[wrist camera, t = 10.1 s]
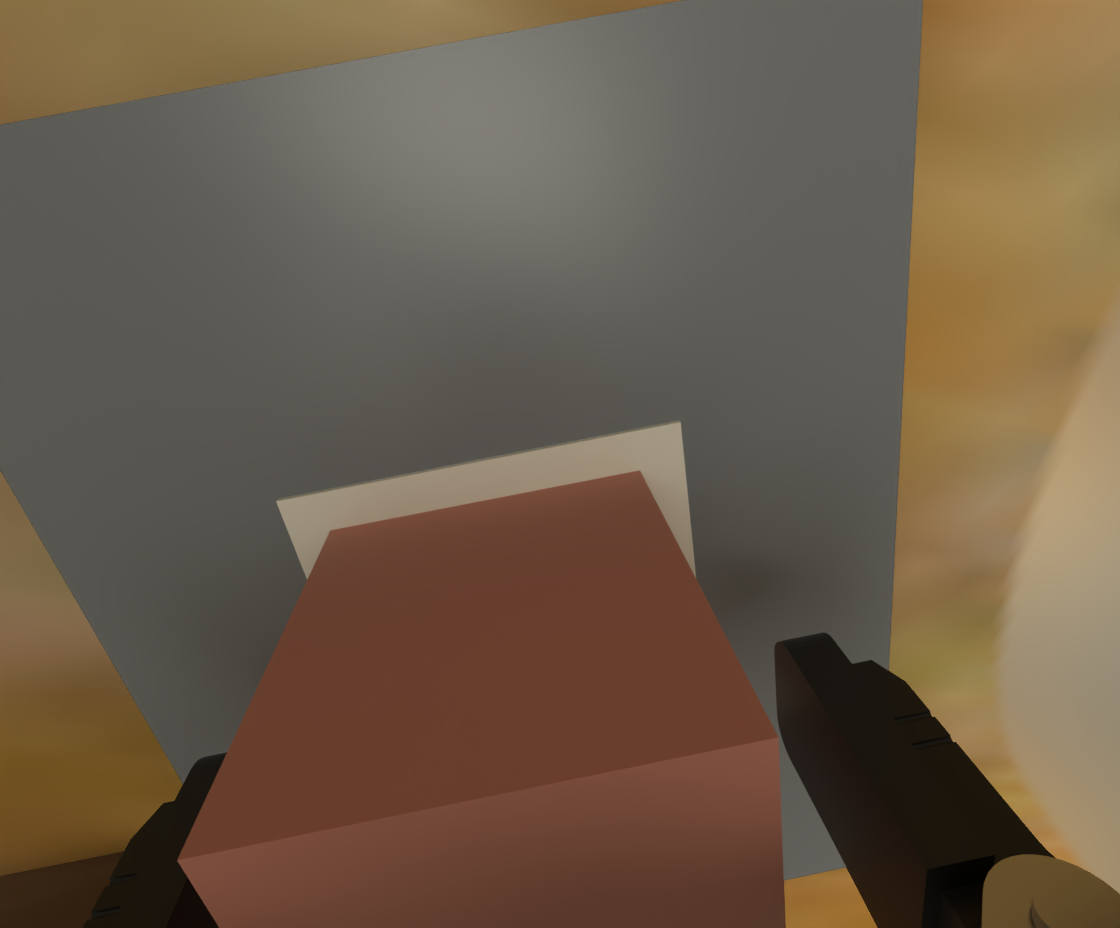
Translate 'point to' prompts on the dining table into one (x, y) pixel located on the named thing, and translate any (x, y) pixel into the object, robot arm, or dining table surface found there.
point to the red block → (499, 735)
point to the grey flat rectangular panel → (471, 327)
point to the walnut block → (55, 893)
